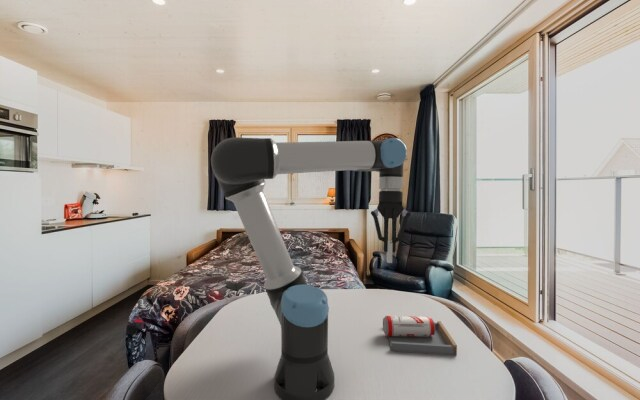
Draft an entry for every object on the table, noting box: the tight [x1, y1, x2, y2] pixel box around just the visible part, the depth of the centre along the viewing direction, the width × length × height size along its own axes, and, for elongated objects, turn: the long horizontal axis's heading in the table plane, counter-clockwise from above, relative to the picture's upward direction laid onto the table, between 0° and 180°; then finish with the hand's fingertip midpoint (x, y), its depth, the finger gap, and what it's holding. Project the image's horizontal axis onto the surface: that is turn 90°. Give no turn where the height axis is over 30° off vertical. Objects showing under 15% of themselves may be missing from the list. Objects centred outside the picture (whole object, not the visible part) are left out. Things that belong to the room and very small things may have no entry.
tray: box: [387, 320, 458, 356], centre depth 95 cm, size 16×19×3 cm
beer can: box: [382, 315, 435, 337], centre depth 97 cm, size 6×6×16 cm
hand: (389, 261), depth 95 cm, fingers closed
